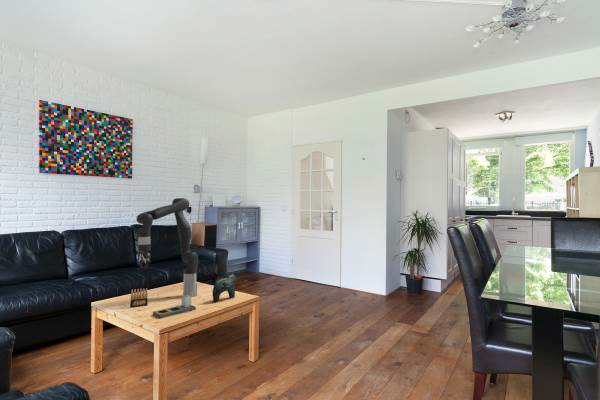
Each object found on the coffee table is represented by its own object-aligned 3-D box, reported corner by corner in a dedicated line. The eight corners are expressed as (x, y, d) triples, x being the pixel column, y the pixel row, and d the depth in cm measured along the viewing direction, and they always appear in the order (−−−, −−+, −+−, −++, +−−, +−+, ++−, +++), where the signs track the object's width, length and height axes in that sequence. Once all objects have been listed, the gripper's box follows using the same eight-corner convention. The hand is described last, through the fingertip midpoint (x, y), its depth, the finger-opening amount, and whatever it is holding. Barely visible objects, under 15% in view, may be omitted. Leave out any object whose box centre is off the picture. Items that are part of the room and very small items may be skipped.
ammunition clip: (130, 307, 221) (130, 289, 222) (129, 307, 223) (130, 289, 223) (147, 305, 227) (148, 287, 228) (147, 304, 229) (147, 287, 229)
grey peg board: (187, 306, 226) (187, 303, 226) (195, 309, 220) (195, 306, 220) (152, 314, 208) (152, 311, 208) (160, 318, 202) (160, 314, 202)
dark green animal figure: (232, 296, 255) (233, 270, 255) (238, 297, 251) (238, 271, 251) (210, 301, 239) (211, 273, 240) (216, 303, 235) (217, 275, 236)
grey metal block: (187, 308, 223) (187, 294, 223) (190, 309, 220) (191, 295, 221) (181, 309, 220) (181, 295, 220) (184, 311, 217) (185, 297, 217)
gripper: (154, 243, 219) (154, 268, 219) (145, 242, 229) (145, 265, 228) (143, 244, 214) (142, 270, 213) (134, 243, 223) (133, 267, 223)
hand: (144, 267), depth 221 cm, fingers open, 8 cm apart
